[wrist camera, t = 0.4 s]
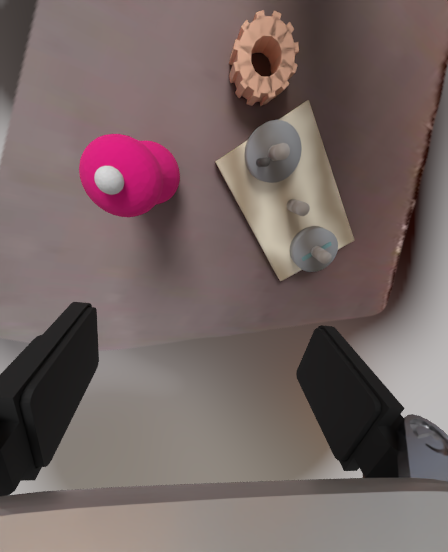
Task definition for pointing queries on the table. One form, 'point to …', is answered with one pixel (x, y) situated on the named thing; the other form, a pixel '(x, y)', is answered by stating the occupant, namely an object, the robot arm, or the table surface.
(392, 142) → the table surface
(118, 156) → the pepper mill
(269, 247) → the board
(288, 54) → the gear
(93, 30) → the table surface
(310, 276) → the table surface
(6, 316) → the table surface
